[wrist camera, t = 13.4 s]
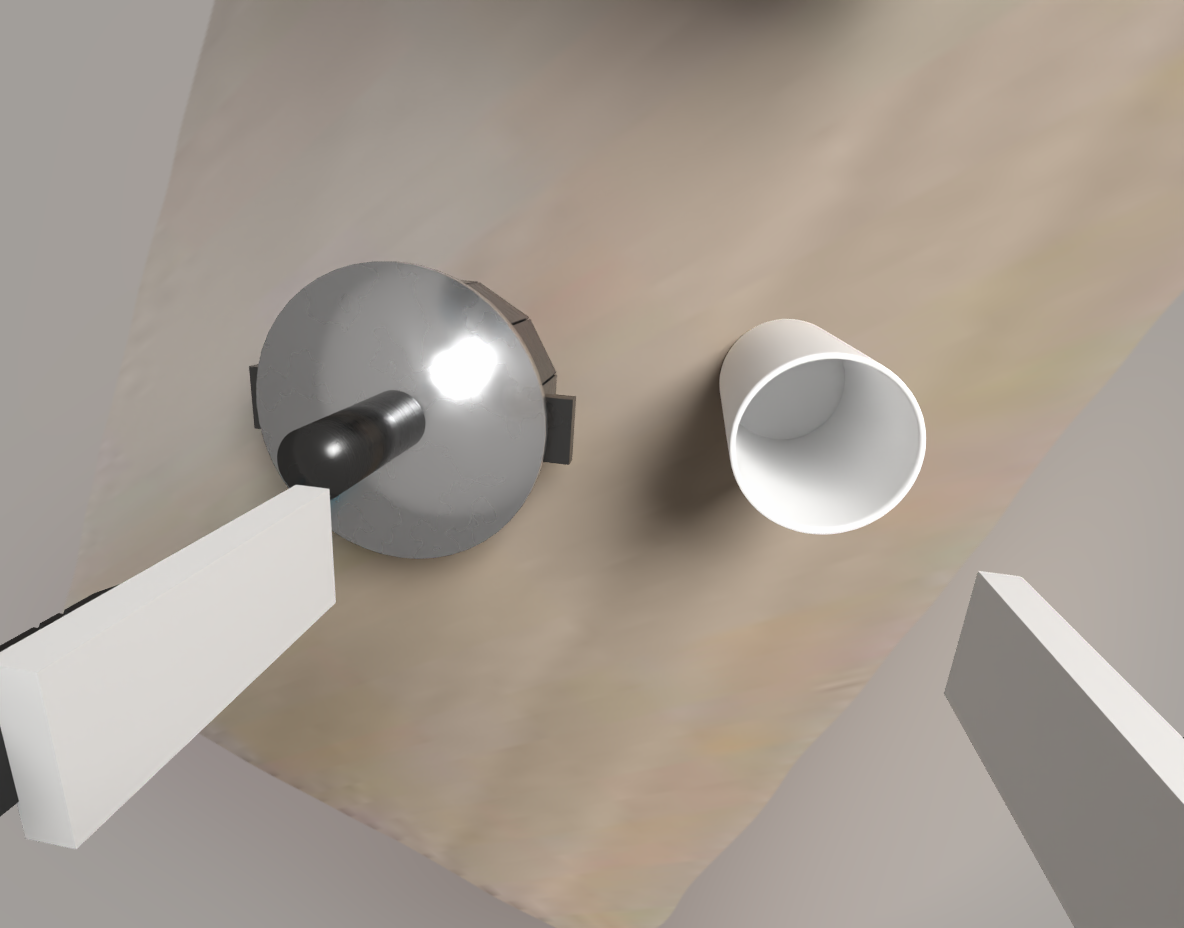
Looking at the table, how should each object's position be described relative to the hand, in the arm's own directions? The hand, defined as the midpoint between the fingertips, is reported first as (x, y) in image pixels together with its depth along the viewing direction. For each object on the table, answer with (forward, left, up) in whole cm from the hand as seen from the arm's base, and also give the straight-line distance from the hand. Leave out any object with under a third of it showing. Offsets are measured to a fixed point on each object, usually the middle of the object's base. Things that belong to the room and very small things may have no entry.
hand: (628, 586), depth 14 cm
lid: (+4, -16, -25) cm, 30 cm away
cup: (+1, +7, -33) cm, 34 cm away
